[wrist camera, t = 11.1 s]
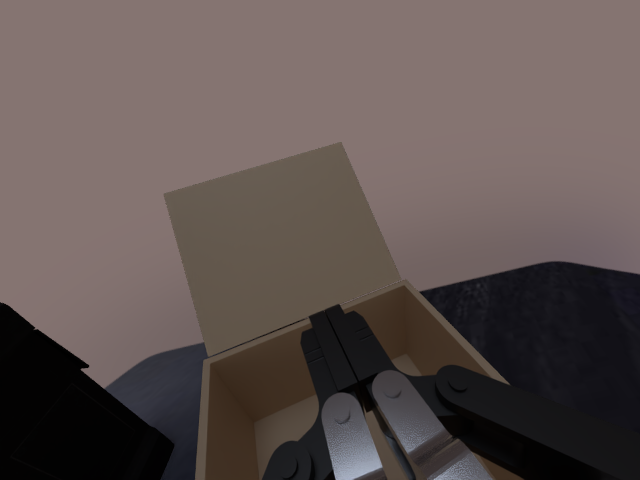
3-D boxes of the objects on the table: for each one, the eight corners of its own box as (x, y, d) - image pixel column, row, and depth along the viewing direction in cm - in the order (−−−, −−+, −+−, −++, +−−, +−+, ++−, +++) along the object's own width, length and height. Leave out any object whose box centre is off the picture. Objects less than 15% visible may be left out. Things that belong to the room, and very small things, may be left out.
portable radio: (135, 431, 31) (-80, 270, 17) (181, 430, 30) (-9, 258, 17) (81, 529, 24) (-328, 392, 11) (137, 532, 23) (-235, 385, 10)
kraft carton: (566, 572, 17) (653, 531, 11) (279, 768, 14) (167, 873, 8) (408, 351, 32) (406, 279, 26) (250, 422, 29) (203, 360, 23)
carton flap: (341, 141, 29) (340, 145, 29) (163, 193, 26) (166, 196, 26) (401, 279, 26) (399, 280, 26) (208, 356, 23) (210, 355, 23)
